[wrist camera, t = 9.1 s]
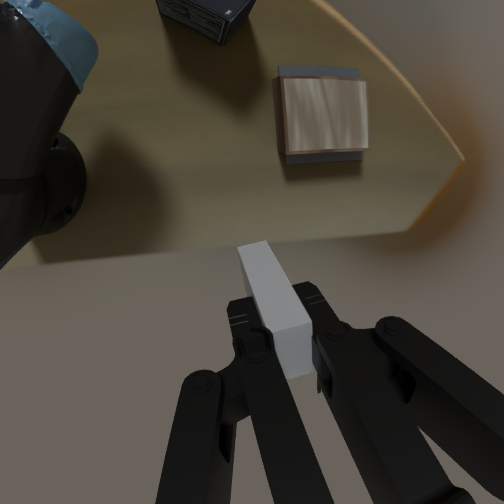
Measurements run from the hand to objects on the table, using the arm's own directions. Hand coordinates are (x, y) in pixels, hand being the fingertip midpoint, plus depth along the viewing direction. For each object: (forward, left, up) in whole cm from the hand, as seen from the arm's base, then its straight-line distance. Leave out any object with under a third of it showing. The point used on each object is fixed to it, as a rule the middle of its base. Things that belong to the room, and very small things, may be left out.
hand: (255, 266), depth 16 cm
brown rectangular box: (+8, +7, -24) cm, 26 cm away
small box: (0, +23, -27) cm, 35 cm away
